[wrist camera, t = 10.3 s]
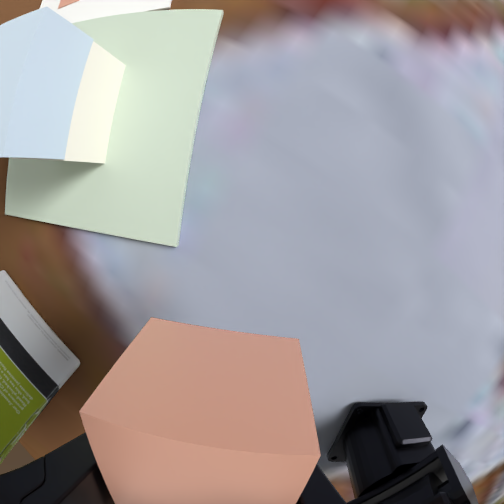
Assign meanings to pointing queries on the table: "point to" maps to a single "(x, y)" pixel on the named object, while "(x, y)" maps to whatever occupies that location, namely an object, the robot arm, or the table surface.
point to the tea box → (26, 364)
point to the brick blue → (39, 83)
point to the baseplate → (131, 133)
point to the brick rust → (204, 418)
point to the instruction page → (101, 7)
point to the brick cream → (94, 108)
